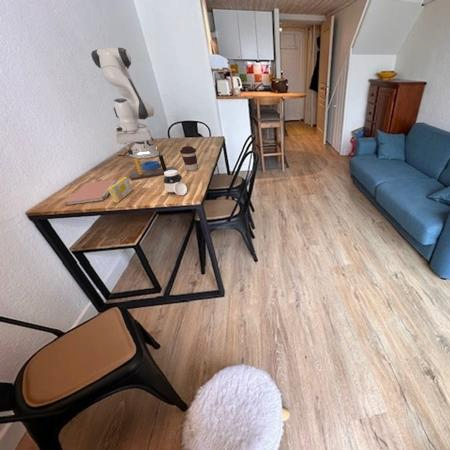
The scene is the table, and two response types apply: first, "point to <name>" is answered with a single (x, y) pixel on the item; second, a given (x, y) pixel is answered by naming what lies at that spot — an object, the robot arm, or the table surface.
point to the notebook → (91, 192)
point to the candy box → (120, 189)
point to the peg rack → (150, 173)
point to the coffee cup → (189, 157)
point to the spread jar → (174, 183)
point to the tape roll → (150, 165)
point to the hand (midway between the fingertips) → (137, 148)
